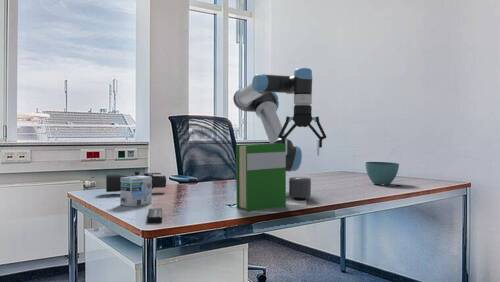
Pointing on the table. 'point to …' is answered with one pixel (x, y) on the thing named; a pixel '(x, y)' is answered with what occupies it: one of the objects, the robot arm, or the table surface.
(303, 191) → the grey cylinder
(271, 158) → the hardback book
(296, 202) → the mat
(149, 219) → the multiport hub
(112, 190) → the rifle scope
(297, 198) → the lens barrel
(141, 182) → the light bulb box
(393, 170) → the teal bowl
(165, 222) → the table surface
